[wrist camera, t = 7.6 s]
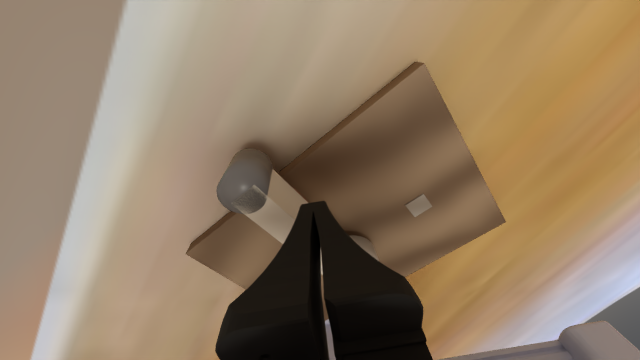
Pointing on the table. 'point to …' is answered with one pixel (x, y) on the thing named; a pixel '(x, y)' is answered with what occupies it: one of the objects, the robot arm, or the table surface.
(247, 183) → the coupling lever
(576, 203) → the table surface
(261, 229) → the base
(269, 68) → the table surface
